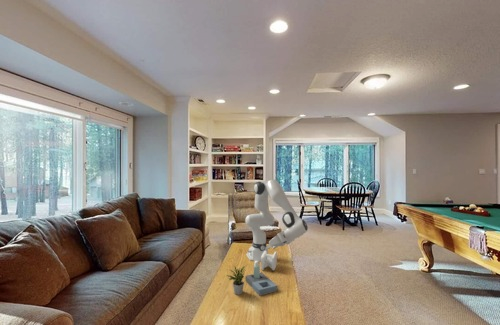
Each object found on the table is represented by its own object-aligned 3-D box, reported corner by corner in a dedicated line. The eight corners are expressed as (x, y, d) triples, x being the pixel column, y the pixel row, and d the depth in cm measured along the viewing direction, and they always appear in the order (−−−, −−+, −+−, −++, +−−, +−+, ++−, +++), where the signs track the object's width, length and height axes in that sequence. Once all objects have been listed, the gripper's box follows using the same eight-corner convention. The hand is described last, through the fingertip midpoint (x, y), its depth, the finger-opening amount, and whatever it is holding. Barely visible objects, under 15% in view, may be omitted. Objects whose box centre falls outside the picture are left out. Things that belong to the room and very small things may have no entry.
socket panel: (245, 280, 169) (245, 275, 169) (261, 277, 175) (261, 272, 175) (259, 295, 150) (259, 289, 150) (277, 291, 156) (277, 285, 156)
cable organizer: (274, 272, 182) (274, 257, 182) (260, 271, 185) (260, 256, 185) (276, 264, 196) (277, 250, 196) (264, 263, 199) (264, 249, 199)
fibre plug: (253, 280, 170) (253, 260, 170) (259, 280, 170) (259, 260, 170) (253, 283, 166) (253, 262, 166) (259, 283, 166) (259, 262, 166)
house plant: (235, 284, 164) (235, 260, 165) (253, 289, 158) (253, 264, 158) (223, 294, 152) (223, 268, 152) (242, 299, 145) (242, 272, 145)
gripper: (289, 233, 171) (273, 243, 174) (277, 232, 154) (261, 243, 157) (293, 241, 168) (278, 251, 171) (282, 241, 151) (265, 252, 154)
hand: (269, 247), depth 164 cm, fingers open, 8 cm apart
